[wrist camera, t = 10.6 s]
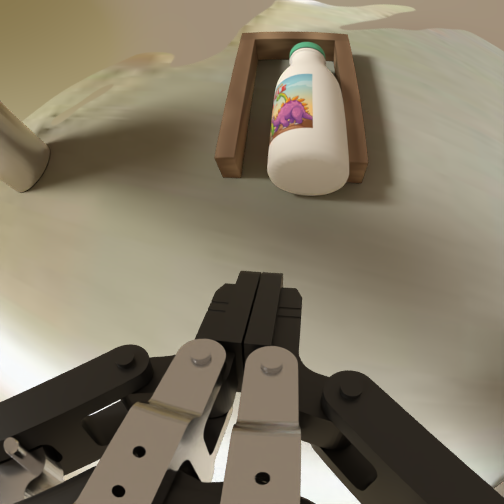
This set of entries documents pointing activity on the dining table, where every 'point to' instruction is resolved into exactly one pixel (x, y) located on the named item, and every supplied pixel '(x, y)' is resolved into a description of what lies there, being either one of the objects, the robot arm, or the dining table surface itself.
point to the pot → (500, 489)
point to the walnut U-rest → (243, 86)
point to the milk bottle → (308, 127)
